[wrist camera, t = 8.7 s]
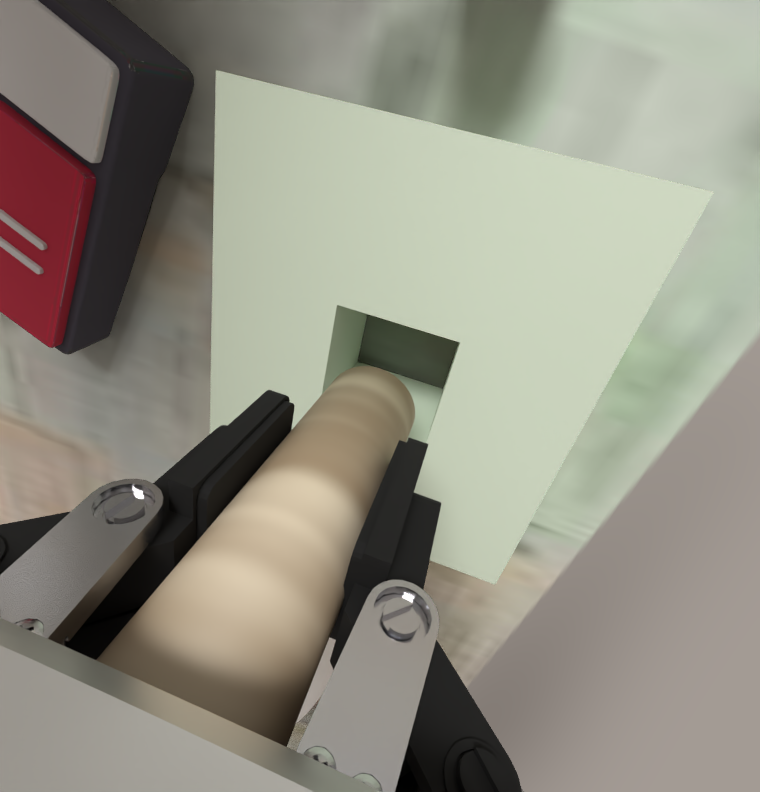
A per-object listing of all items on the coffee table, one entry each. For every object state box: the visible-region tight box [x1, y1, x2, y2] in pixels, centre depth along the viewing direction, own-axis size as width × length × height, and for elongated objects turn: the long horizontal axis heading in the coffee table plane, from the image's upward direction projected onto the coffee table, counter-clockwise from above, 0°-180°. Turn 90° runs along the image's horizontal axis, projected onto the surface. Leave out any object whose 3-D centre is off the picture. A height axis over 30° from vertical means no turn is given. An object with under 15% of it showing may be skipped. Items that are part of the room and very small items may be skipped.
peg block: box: [210, 70, 714, 585], centre depth 18 cm, size 16×14×5 cm
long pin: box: [96, 366, 415, 747], centre depth 10 cm, size 3×3×11 cm
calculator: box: [0, 0, 194, 354], centre depth 20 cm, size 11×4×15 cm
